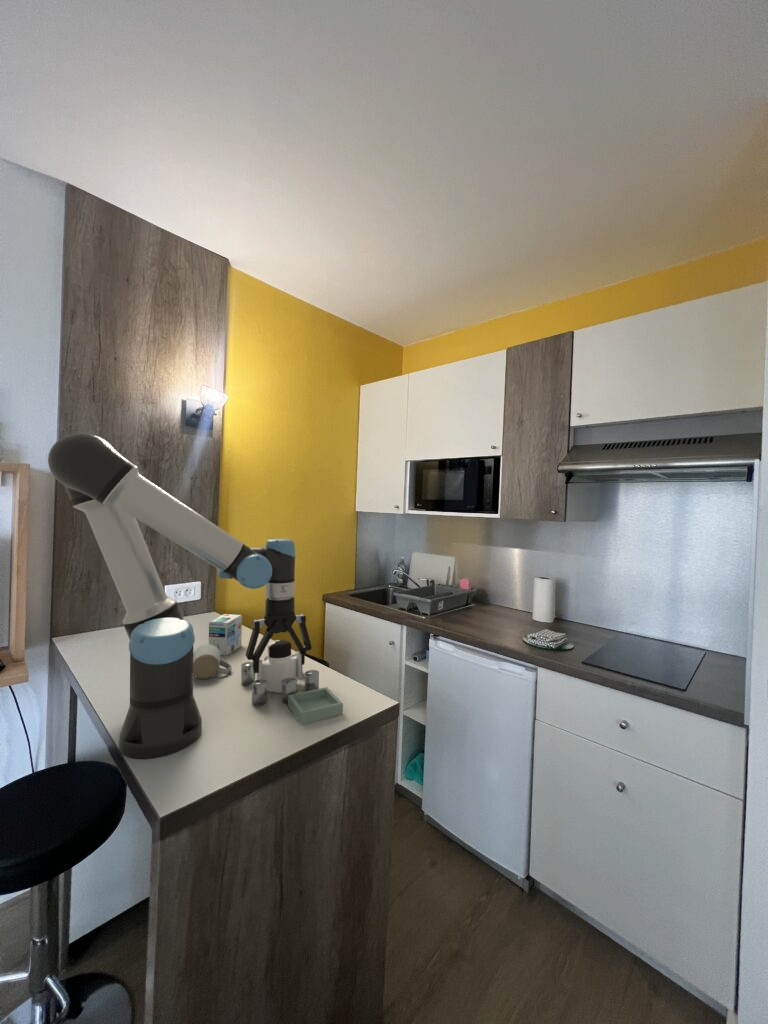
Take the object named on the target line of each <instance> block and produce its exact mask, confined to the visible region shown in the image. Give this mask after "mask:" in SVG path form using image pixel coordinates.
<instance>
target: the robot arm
mask: <svg viewBox="0 0 768 1024" xmlns="http://www.w3.org/2000/svg"><path fill="white" fill-rule="evenodd" d="M47 464H48V468H49V470H50V473H51V475H52V476H53V477H54V478H55V479H56V480H57V482H58V483H60V484H62V485H63V486H64V488H65V490H66V493H67V495H68V497H69V500H70V502H71V504H72V506H73V508H74V509H76V510H79V511H81V512H83V513H84V514H85V517H86V518H87V520H88V523H89V525H90V527H91V530H92V532H93V534H94V538H95V540H96V542H97V545H98V547H99V549H100V552H101V555H102V556H103V560H104V561H105V564H106V566H107V568H108V571H109V573H110V576H111V578H112V580H113V582H114V585H115V587H116V590H117V592H118V594H119V596H120V599H121V602H122V604H123V606H124V609H125V611H126V613H125V615H124V618H123V619H122V624H123V627H124V629H125V632H126V634H127V637H128V640H129V643H128V651H129V658H130V659H129V706H128V710H127V714H126V716H125V719H124V722H123V724H122V727H121V729H120V732H119V737H118V738H119V739H118V749H119V751H120V753H121V752H122V753H121V754H123V755H124V756H127V757H129V758H134V759H150V758H157V757H163V756H166V755H170V754H172V753H175V752H178V751H180V750H182V749H184V748H186V747H188V746H189V745H192V744H193V743H194V742H195V741H196V740H197V739H198V738H199V737H200V735H201V734H202V729H203V720H202V715H201V713H200V710H199V708H198V704H197V701H196V699H195V696H194V673H193V653H194V645H195V644H194V643H195V638H196V637H195V632H194V627H193V625H192V624H191V622H189V621H188V620H186V619H184V616H183V614H182V611H181V609H180V607H179V604H178V601H177V599H176V598H173V597H170V596H168V595H167V593H166V591H165V588H164V586H163V584H162V581H161V579H160V576H159V573H158V571H157V568H156V565H155V563H154V561H153V558H152V556H151V553H150V551H149V547H148V546H147V543H146V540H145V538H144V535H143V533H142V530H141V528H140V526H139V523H138V521H140V522H142V523H143V524H144V525H146V526H148V527H150V528H151V529H152V530H154V531H156V532H158V533H159V534H161V535H163V536H164V537H165V538H167V539H169V540H171V541H172V542H174V543H176V544H177V545H179V546H181V547H182V548H184V549H185V550H187V551H188V552H190V553H191V554H193V555H195V556H197V557H199V558H200V559H201V560H203V561H205V562H206V563H208V564H210V565H211V566H212V567H215V568H216V570H217V576H218V577H219V578H220V579H222V580H223V579H229V580H232V579H234V580H235V581H237V582H239V584H240V585H242V586H243V587H244V588H247V589H250V590H251V589H254V590H255V589H260V588H263V587H265V597H266V599H265V614H264V617H263V618H261V619H256V618H255V619H253V620H252V631H251V634H250V638H249V641H248V645H247V647H246V648H247V649H246V652H245V657H246V658H247V660H248V661H252V662H253V671H254V673H255V674H256V680H262V663H263V660H262V659H261V657H262V655H263V653H264V651H265V650H266V647H268V645H269V643H270V642H269V641H270V640H271V638H272V637H273V636H274V634H280V633H288V634H289V636H290V639H291V640H292V642H293V644H294V645H295V647H296V648H297V650H298V651H295V654H296V658H297V680H298V679H299V680H301V679H302V675H301V665H302V666H303V665H305V663H306V662H305V661H306V660H305V659H306V655H307V652H308V651H311V650H312V648H313V646H312V643H311V640H310V637H309V636H310V635H309V632H308V629H307V625H306V624H307V622H306V621H307V616H306V615H304V614H303V613H300V614H295V605H296V604H295V599H296V598H294V596H295V595H296V593H295V592H296V591H295V588H296V585H295V584H296V583H295V581H296V580H295V577H296V576H295V572H296V546H295V541H294V540H292V539H290V538H289V539H288V538H272V539H267V540H266V542H265V546H262V547H249V546H247V545H246V544H244V543H243V542H242V541H240V540H238V539H237V538H236V537H234V536H233V535H231V534H230V533H228V532H227V531H225V530H224V529H223V528H221V527H219V526H217V524H215V523H213V522H211V521H210V520H209V519H207V518H206V517H205V516H202V515H201V514H199V512H197V511H195V510H194V509H192V508H190V507H189V506H188V505H186V504H185V503H183V502H182V501H180V500H179V499H177V497H176V498H175V497H174V496H172V495H171V494H169V493H168V492H166V491H165V490H164V489H162V488H161V487H159V486H158V485H156V484H154V482H151V481H150V480H148V479H147V478H145V477H144V476H142V475H141V474H140V473H139V468H138V466H137V465H135V464H134V463H133V462H130V461H129V460H128V459H127V458H125V457H124V456H123V455H121V454H120V452H118V451H117V450H116V449H115V448H114V447H113V445H111V444H110V443H109V442H108V441H107V440H105V439H104V438H102V437H100V436H98V435H94V434H91V433H87V432H78V433H72V434H67V435H65V436H63V437H61V438H60V439H58V440H57V441H56V442H55V443H54V444H53V445H52V447H51V448H50V450H49V453H48V459H47ZM137 520H138V521H137ZM295 622H297V623H298V627H299V630H300V633H301V638H302V642H301V641H300V639H299V637H298V635H297V634H296V632H295V630H294V628H293V627H292V626H293V624H294V623H295ZM263 625H265V626H266V629H265V631H264V633H263V635H262V637H261V639H260V641H259V643H258V645H257V642H258V638H259V634H260V631H261V629H262V627H263ZM302 643H303V644H302ZM256 645H257V647H256Z"/></svg>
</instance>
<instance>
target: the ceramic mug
mask: <svg viewBox="0 0 768 1024" xmlns="http://www.w3.org/2000/svg"><path fill="white" fill-rule="evenodd" d="M221 656H222V655H221V654H220V651H219V649H218V648H217V647H216V646H214V645H211V644H209V643H206V644H202V645H200V646H198V647H197V648H196V649H194V651H193V676H195V677H196V678H198V679H203V680H206V679H211V678H212V677H213V676H215V675H216V674H217V673H218V674H222V675H229V674H230V673H231V671H232V668H233V667H232V664H230V663H229V662H228V661H225V660H224V659H222V658H221ZM220 666H221V667H220Z"/></svg>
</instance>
